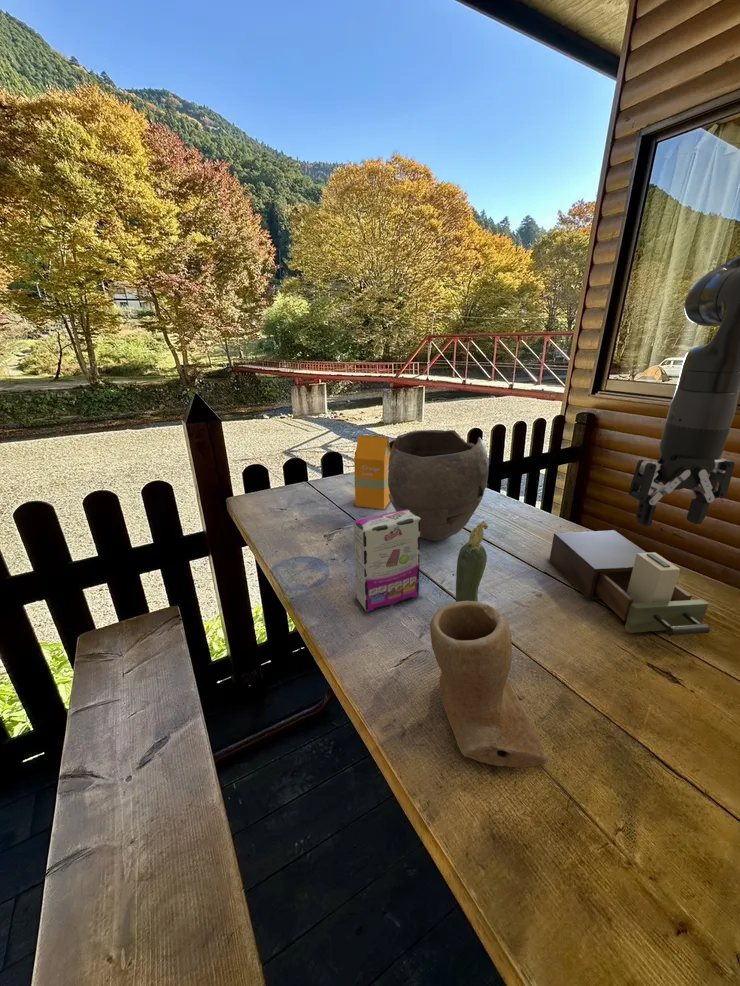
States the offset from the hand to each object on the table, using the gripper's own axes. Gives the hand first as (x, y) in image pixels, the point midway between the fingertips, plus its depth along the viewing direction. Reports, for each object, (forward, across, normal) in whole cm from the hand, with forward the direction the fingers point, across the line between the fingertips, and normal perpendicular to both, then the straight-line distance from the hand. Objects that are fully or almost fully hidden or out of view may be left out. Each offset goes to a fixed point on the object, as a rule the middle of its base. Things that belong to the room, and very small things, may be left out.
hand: (668, 523), depth 65 cm
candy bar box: (+18, -44, +10) cm, 48 cm away
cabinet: (+18, 0, +13) cm, 22 cm away
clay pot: (+18, -30, +34) cm, 49 cm away
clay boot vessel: (+18, -36, -17) cm, 44 cm away
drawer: (+17, 0, 0) cm, 17 cm away
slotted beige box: (+16, 0, 0) cm, 16 cm away
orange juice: (+18, -42, +57) cm, 73 cm away
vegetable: (+18, -32, 0) cm, 37 cm away
